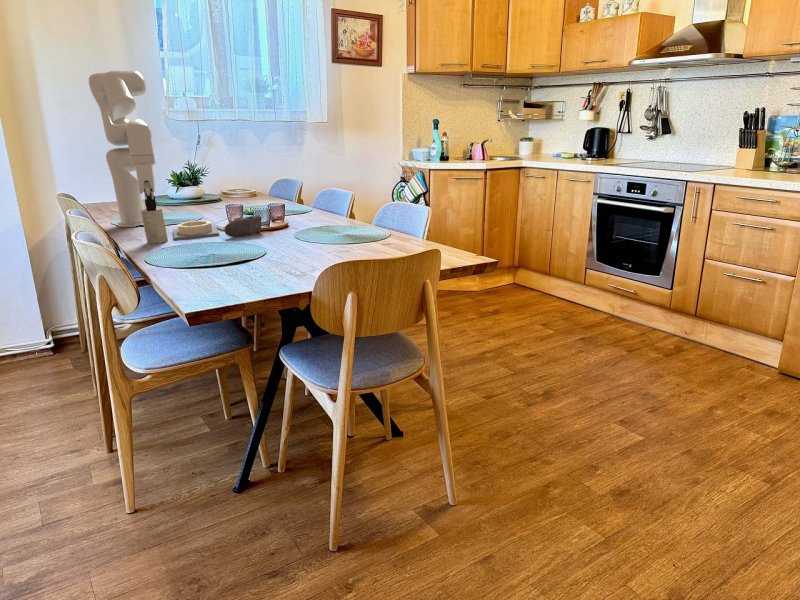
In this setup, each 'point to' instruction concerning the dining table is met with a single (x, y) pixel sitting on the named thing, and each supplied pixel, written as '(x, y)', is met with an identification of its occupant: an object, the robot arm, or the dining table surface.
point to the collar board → (195, 230)
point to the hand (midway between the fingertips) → (151, 209)
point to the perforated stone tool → (244, 227)
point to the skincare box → (154, 226)
